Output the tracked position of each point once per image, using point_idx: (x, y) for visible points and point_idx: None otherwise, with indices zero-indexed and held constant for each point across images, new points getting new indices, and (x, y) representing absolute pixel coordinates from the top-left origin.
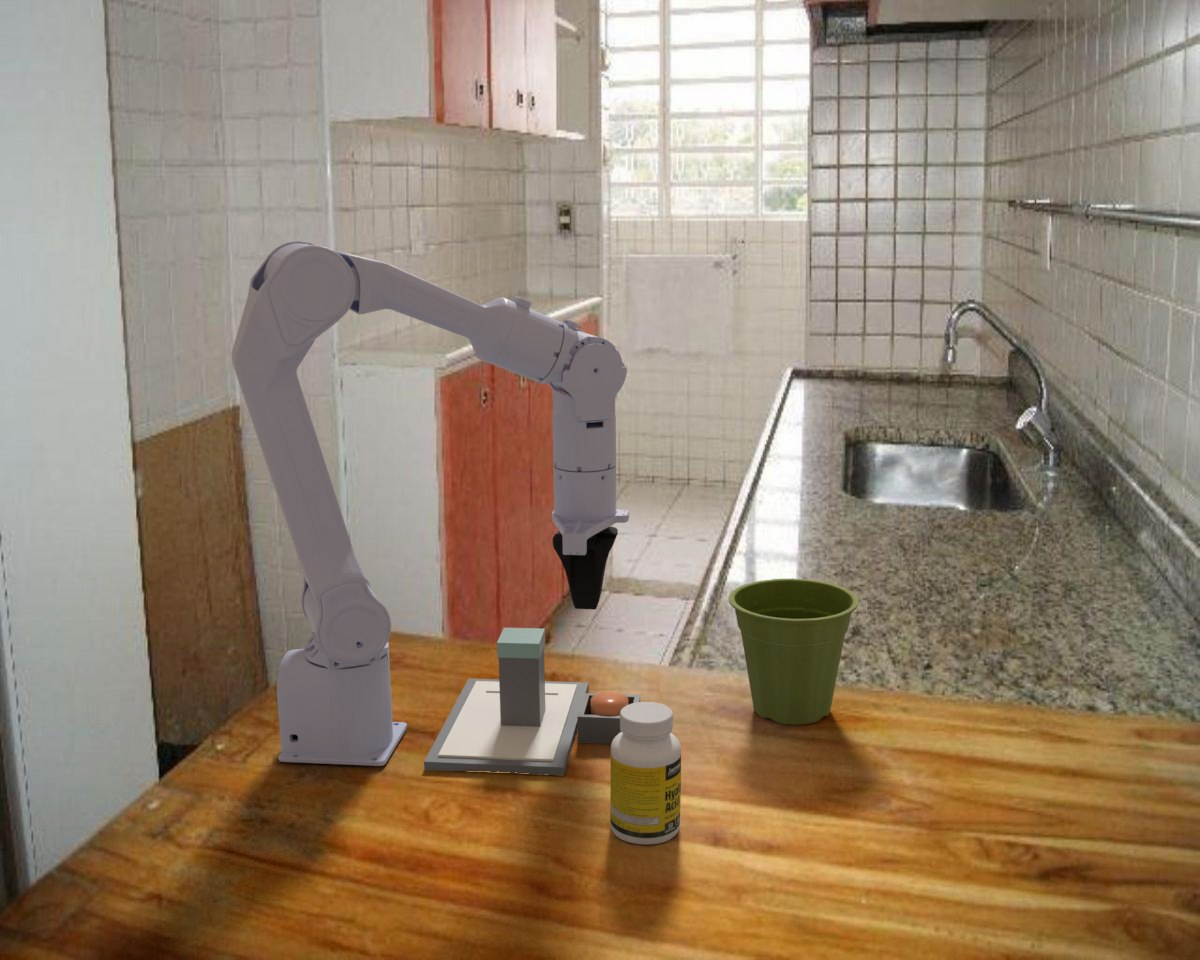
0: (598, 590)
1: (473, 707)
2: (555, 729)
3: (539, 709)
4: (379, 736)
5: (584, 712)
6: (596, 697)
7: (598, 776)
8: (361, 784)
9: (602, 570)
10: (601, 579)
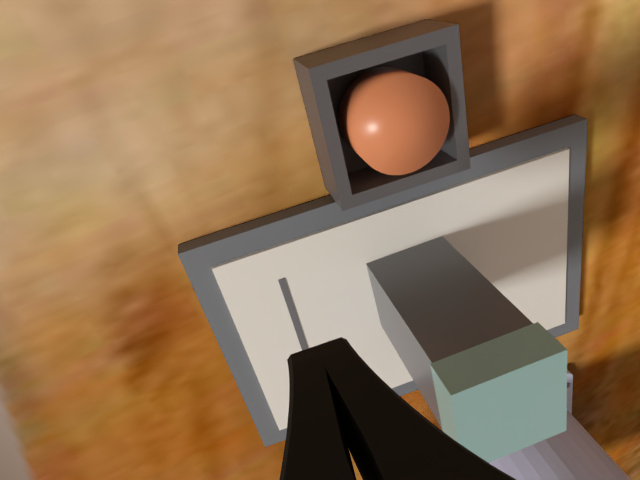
0: (385, 384)
1: (391, 373)
2: (447, 204)
3: (459, 254)
4: None
5: (442, 164)
6: (398, 163)
7: (570, 47)
8: (607, 361)
9: (469, 451)
10: (419, 415)
